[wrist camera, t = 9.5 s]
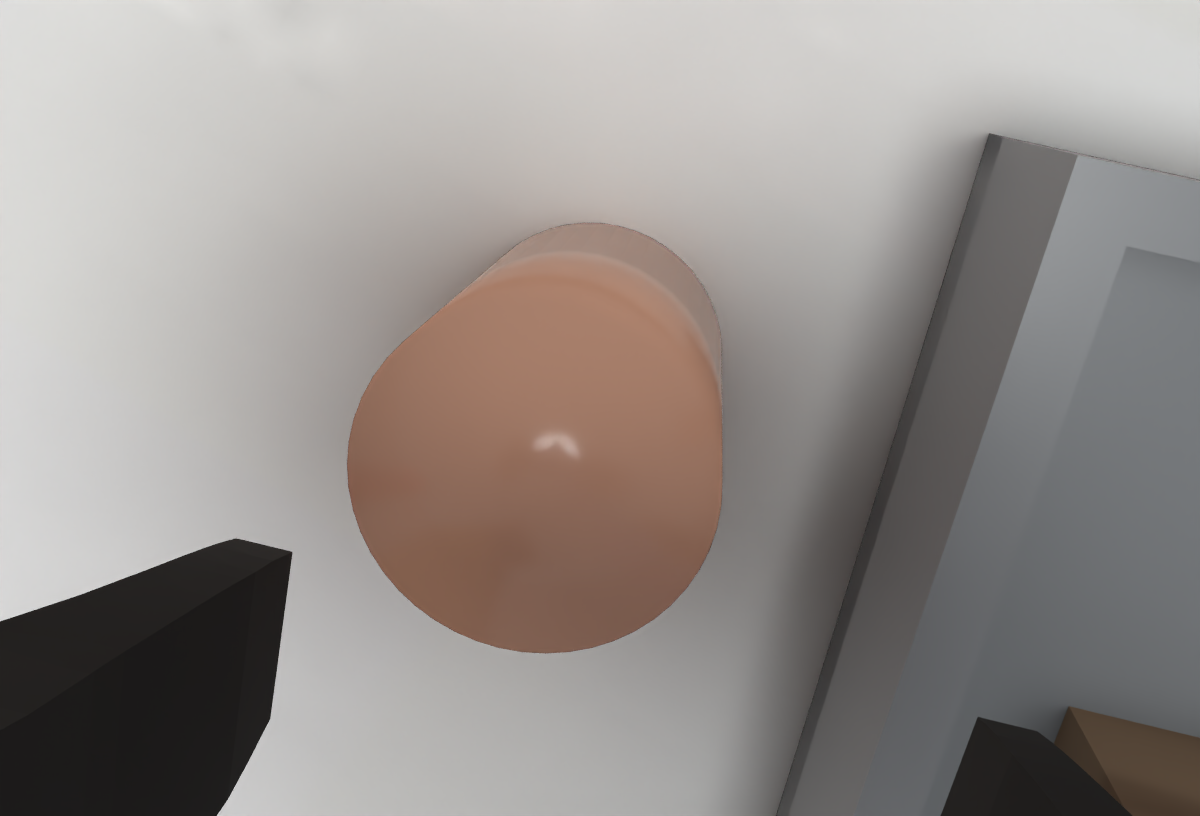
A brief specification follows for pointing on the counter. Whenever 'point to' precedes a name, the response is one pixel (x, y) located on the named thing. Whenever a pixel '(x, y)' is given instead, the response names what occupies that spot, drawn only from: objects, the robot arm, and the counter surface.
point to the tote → (1028, 492)
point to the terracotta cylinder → (548, 444)
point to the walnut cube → (1135, 762)
